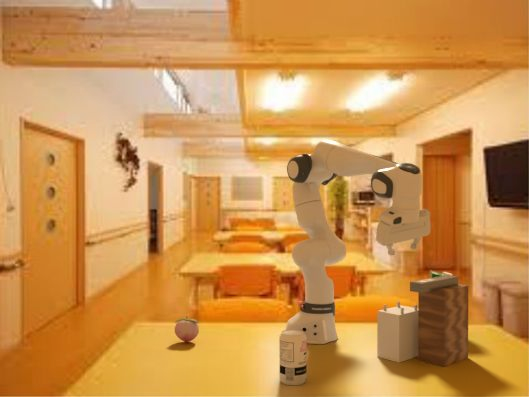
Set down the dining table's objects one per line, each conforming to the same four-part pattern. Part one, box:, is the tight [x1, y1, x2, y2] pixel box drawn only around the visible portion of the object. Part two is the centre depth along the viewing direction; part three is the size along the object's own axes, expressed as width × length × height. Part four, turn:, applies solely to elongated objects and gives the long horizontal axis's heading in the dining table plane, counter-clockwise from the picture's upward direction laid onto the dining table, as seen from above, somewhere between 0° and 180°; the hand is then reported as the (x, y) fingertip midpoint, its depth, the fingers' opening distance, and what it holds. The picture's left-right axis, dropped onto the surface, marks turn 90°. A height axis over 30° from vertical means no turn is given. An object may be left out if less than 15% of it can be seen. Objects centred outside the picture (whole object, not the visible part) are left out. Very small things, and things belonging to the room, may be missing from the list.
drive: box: [409, 275, 459, 293], centre depth 194 cm, size 22×4×3 cm, turn 131°
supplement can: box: [279, 329, 308, 386], centre depth 175 cm, size 8×8×15 cm
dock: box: [376, 301, 418, 363], centre depth 202 cm, size 14×9×18 cm, turn 131°
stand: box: [417, 283, 469, 368], centre depth 198 cm, size 15×10×25 cm, turn 131°
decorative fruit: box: [174, 316, 200, 343], centre depth 219 cm, size 9×8×10 cm
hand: (402, 251), depth 193 cm, fingers open, 8 cm apart
